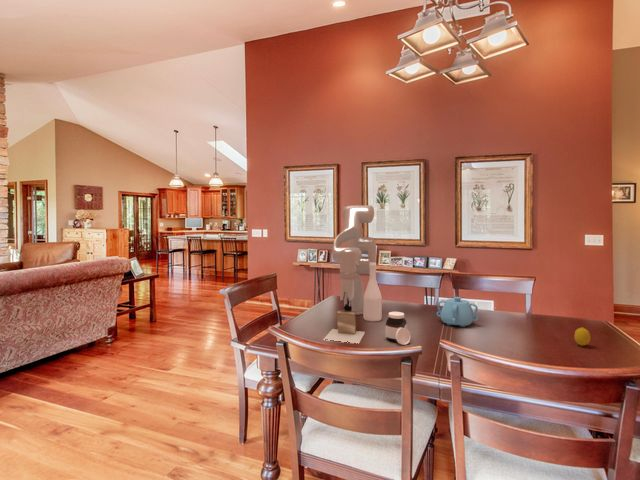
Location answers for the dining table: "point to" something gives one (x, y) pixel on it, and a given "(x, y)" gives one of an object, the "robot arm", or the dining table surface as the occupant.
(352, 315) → the slab
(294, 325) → the dining table surface
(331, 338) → the mat
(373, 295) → the wine bottle
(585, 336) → the lemon
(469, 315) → the decorative pot
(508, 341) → the dining table surface
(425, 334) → the dining table surface
